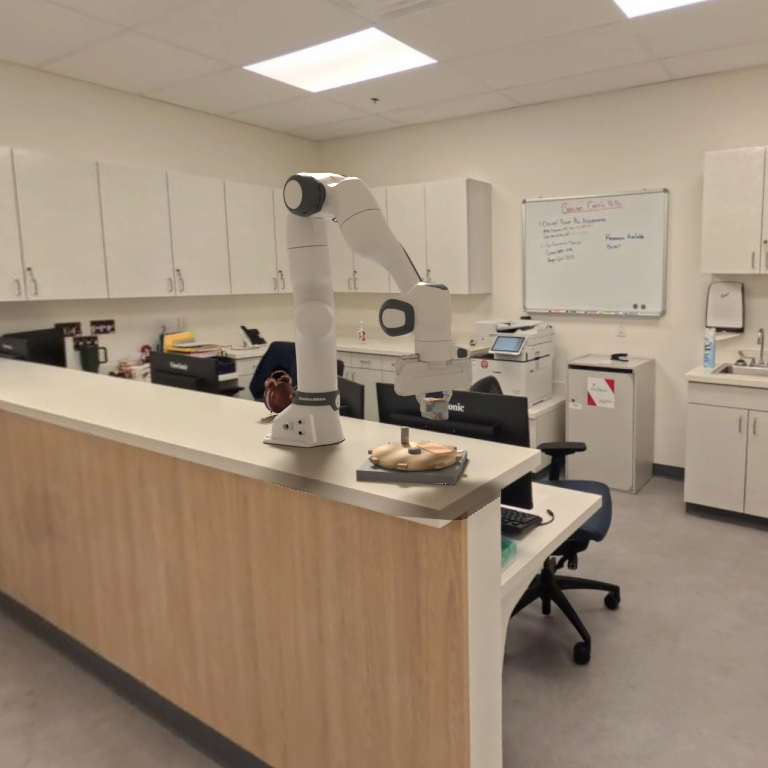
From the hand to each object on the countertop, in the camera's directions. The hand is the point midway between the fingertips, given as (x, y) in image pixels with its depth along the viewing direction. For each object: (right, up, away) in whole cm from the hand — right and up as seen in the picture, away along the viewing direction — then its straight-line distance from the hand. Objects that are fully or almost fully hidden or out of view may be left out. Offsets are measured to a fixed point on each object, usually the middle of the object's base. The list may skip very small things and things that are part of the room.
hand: (434, 410), depth 151 cm
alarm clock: (-47, -4, +63) cm, 79 cm away
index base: (-5, -14, -1) cm, 14 cm away
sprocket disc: (-5, -11, -1) cm, 12 cm away
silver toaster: (0, -2, 0) cm, 2 cm away
